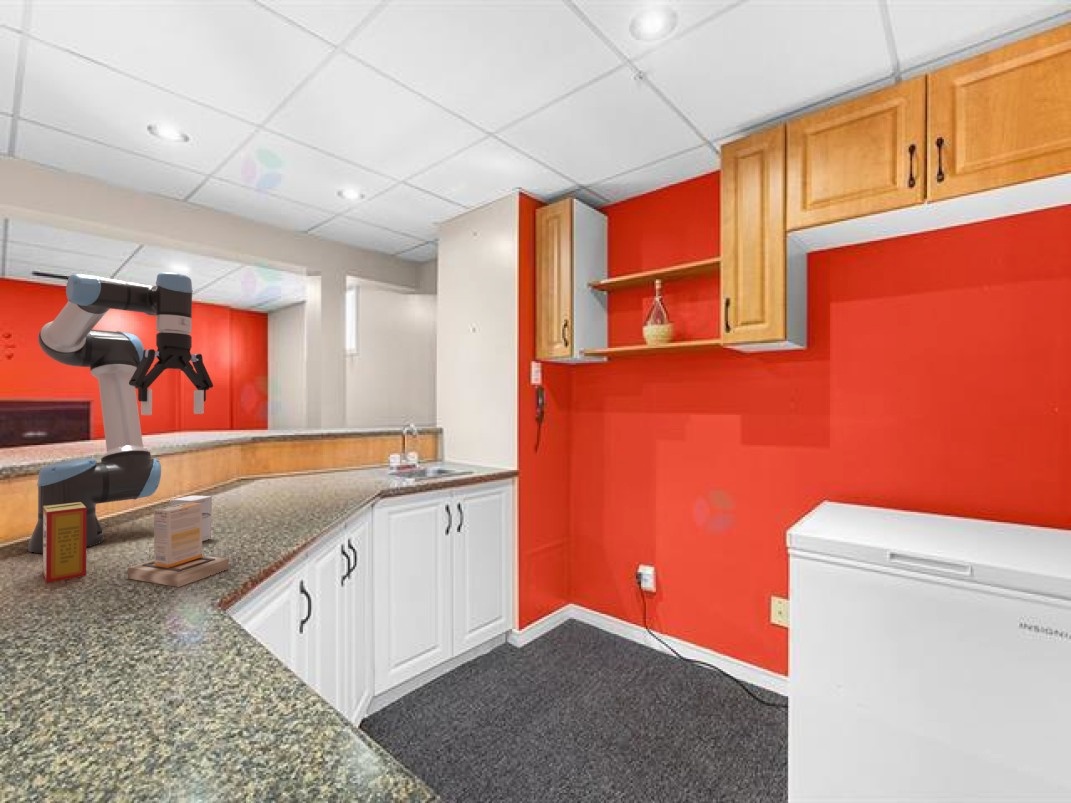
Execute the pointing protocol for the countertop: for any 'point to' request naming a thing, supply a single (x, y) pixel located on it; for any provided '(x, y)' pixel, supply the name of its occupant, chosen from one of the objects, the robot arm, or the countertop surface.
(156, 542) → the supplement box
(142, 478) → the robot arm
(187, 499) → the supplement box
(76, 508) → the baking soda box
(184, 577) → the seat pad
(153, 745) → the countertop surface
